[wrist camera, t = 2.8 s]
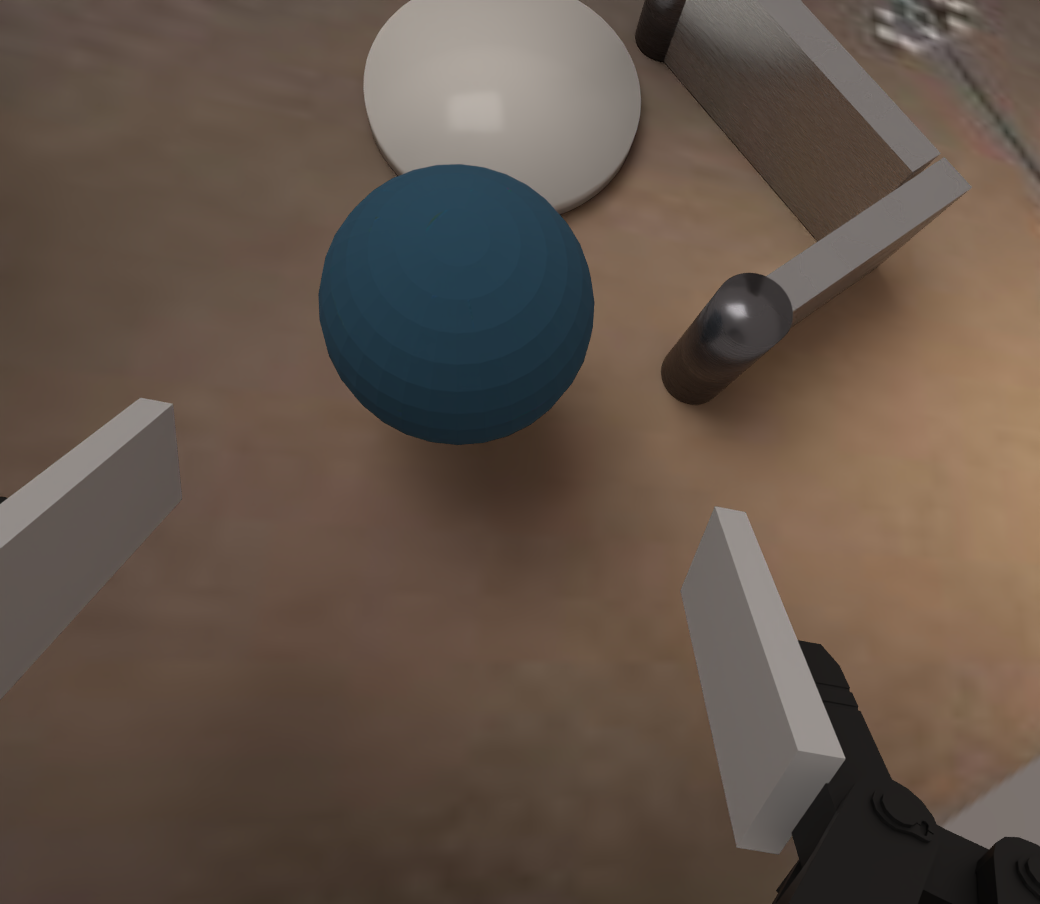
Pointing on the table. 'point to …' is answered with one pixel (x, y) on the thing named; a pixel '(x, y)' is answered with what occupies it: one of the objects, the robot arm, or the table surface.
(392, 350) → the dark blue rounded piece
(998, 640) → the table surface
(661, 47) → the bent rail
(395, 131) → the coaster
